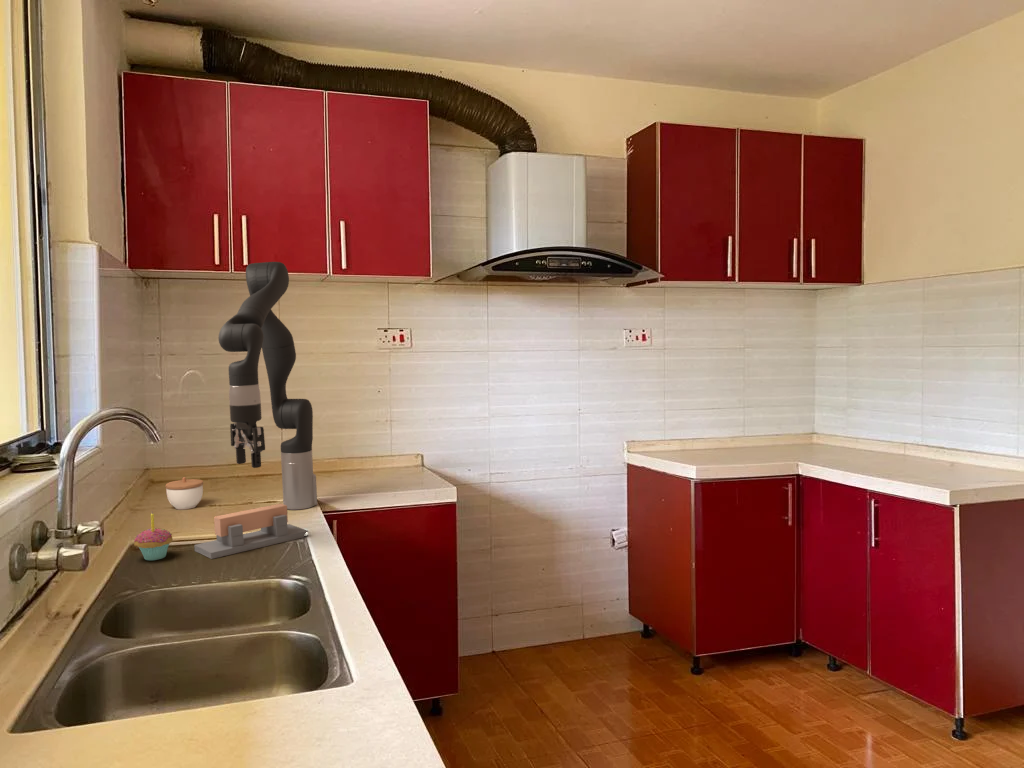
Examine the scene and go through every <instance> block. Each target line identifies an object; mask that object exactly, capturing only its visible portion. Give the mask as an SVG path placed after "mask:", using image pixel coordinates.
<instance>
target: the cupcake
mask: <svg viewBox="0 0 1024 768" xmlns="http://www.w3.org/2000/svg"><path fill="white" fill-rule="evenodd" d="M150 521H151V522H150V525H151V528H148V529H145V530H143V531H141V532H139V534H136V537H135V538H134V539H133V540H134V541H133V542H134V544H133V545H134V547H137V548H139V550H140V551H141V554H142V556H143V559H144V560H145V561H157V560H162V559H164V558H166V556H167V552H168V549H169V546H170V543H172V542H173V536H172V535H173V534H172V533H171V532H170V531H168V530H167V529H163V528H158V527H156V528H155V514H154V512H153V511H151V513H150Z"/></svg>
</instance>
